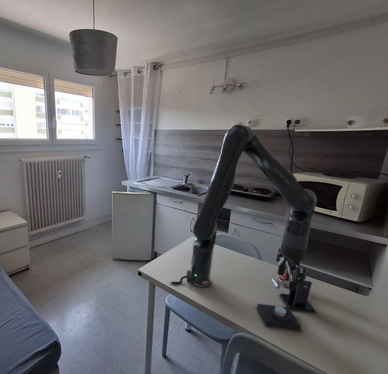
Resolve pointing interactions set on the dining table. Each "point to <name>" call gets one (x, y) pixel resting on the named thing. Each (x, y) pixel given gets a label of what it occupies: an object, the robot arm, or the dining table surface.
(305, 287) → the bracket
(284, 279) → the soda can
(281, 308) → the flush button
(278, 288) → the flush lever
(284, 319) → the flush panel
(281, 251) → the robot arm
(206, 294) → the dining table surface
